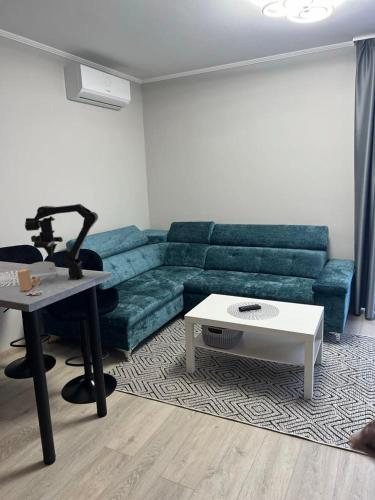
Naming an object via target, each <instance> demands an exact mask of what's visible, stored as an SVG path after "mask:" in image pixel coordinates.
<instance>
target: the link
mask: <svg viewBox="0 0 375 500" xmlns="http://www.w3.org/2000/svg"><path fill="white" fill-rule="evenodd" d="M16 273H17V279H18V284H19V290H20V292H24V291H25V292H26V291H30V290H31V289H33V286H32V285H33V284H35V283H38V282H39V281H40V282H41V279H40V277H35V279H31V277H30V271H29V269H24V268H23V269H20V270H18V271H17V272H16Z"/></svg>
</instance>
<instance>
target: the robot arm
mask: <svg viewBox="0 0 375 500" xmlns="http://www.w3.org/2000/svg"><path fill="white" fill-rule="evenodd" d="M75 212H76V213H78V214H79V215H80V216H81V217H82V218H83V223H82V227H81V229H80V231H79V233H78V236H77V237H76V239H75V241H74V243H73V245H72V247H71V248H69V249H68V250H67V249H66V251H65V253H64V256H63V264H64V265H66V266H67V268H68V280H80V279H82V278H83V276H84V277H85V274H83V268H82V267H83V266H81V265H82V263H83V262H82V260H81V259H79V258H78V257H79V254H80V249H81V248H82V247H83V244H84V242H85V240H86V239H87V236H88V234H89V232H90V230H91V228H92V227H93V226H95V223H96V222H97V221H98V220H99V216H98V214H97V212H95V211H92V210H90V209H89V208H87V207H85V206H84V205H83V204H81V203H76V204H70V205H59V206H52V205H43V206H39V207H38V208H37V211H36V214H35V216H34V217H27V218H25V221H24V222H25V224H24V227H25V228H24V229H25V231H27V232H32V231H39V230H41V231H40V232H39V235H35V234H33V235H31V236H30V240H31V242H32V243H33V248H34V249H44V250H45V252H46V254H47V255H48V257H49V258H51V259H52V258H53V255H54V254H55V250H56V247H57V245H58V243H57V242H59V243H63V242H64V240H63V237H62V236H54V233H55V229H53V223H52V222H53V221H56V219H55V217H53V216H54V215H57V214H66V213H67V214H68V213H75Z"/></svg>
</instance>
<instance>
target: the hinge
mask: <svg viewBox="0 0 375 500" xmlns="http://www.w3.org/2000/svg"><path fill="white" fill-rule="evenodd" d="M25 268H26V269H29V271H30V277H40V280H41V279H49V278H54V277H56V278H57V277H58V271H57V268H56V265H55V263H54V262H52V261H38V262H34V263H31V264H29V265H27V266H26V267H25Z"/></svg>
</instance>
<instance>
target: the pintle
mask: <svg viewBox="0 0 375 500" xmlns="http://www.w3.org/2000/svg"><path fill="white" fill-rule="evenodd" d="M32 279H35V277H32ZM39 285H41V280H40V281H39V282H38V283H35V284H33V285H32V287H36V286H39Z"/></svg>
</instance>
